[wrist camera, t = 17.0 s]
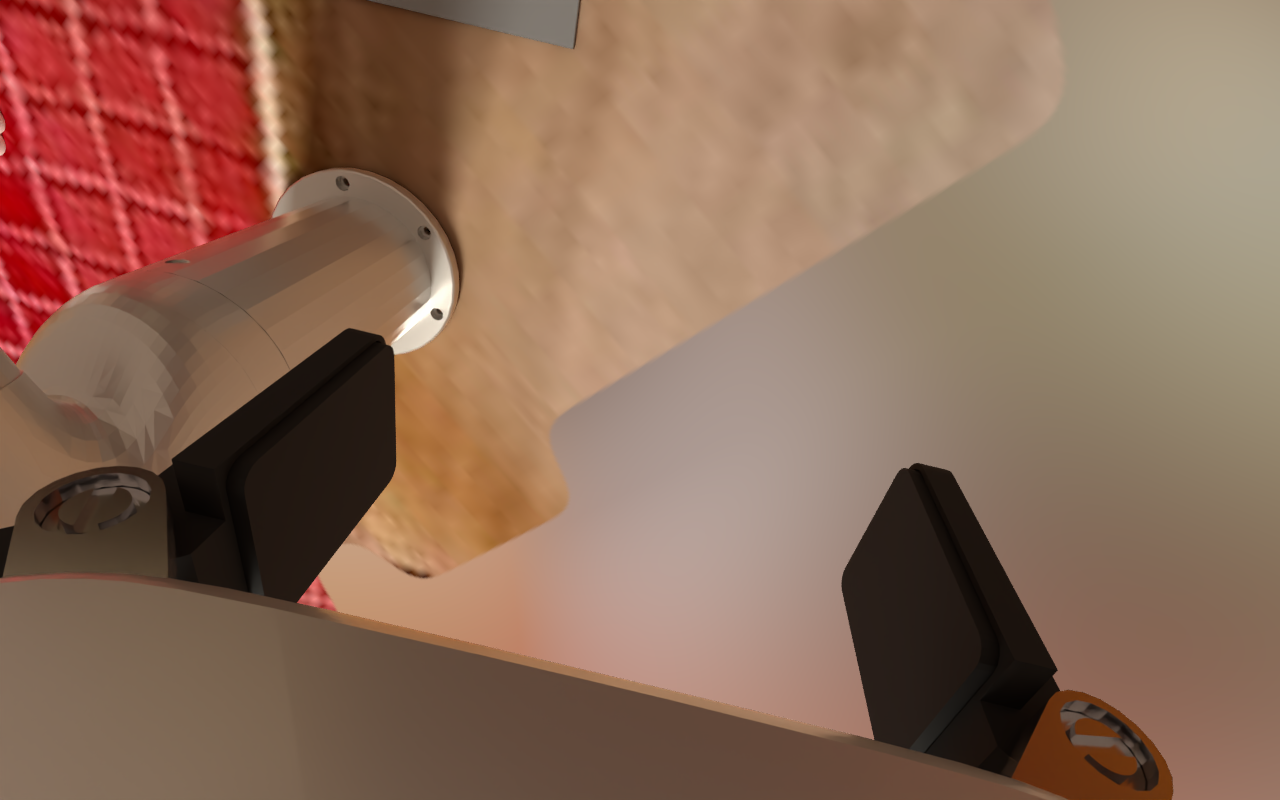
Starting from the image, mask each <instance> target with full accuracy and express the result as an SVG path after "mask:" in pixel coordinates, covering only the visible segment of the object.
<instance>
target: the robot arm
mask: <svg viewBox="0 0 1280 800" xmlns="http://www.w3.org/2000/svg"><path fill="white" fill-rule="evenodd" d="M347 180H348V181H347ZM348 182H349V183H348ZM427 228H428V229H429V230H430V232H431V233H430V232H428V231H427ZM458 294H459V272H458V267H457V263H456V258H455V254H454V252H453V249H452V247H451V245H450V242H449V240H448V237H447V235H446V234H445V232H444V231H443V229H442V227H441V226H440V224H439V222H438V221H437V219H436V218H435V217H434V216H433V215H432V213H431V212H430V211H429V210H428V209H427V208H426V206H425V205H424V204H423V203H422V202H421V201H419V200H418V199H417V198H416V197H415V196H414V195H413V194H411V193H410V192H409V191H408V190H407V189H405V188H403V187H402V186H400V185H398V184H397V183H395V182H394V181H392V180H390V179H388V178H386V177H383V176H381V175H378V174H376V173H373V172H371V171H366V170H361V169H356V168H331V169H326V170H322V171H318V172H315V173H313V174H310V175H307V176H304V177H302V178H301V179H299V180H298V181H296V182H295V183H294V184H292V185H291V186H289V188H288V189H287V190H286V191H285V192H284V194H283V195H282V196H281V197H280V199H279V201H278V203H277V205H276V207H275V209H274V211H273V214H272V219H269V220H267V221H264V222H261V223H259V224H256V225H254V226H251V227H248V228H246V229H243V230H240V231H238V232H235V233H232V234H230V235H227V236H224V237H222V238H219V239H217V240H214V241H211V242H209V243H206V244H203V245H201V246H198V247H195V248H193V249H190V250H187V251H185V252H182V253H180V254H177V255H174V256H172V257H169V258H166V259H164V260H161V261H158V262H156V263H153V264H150V265H148V266H145V267H143V268H140V269H137V270H135V271H132V272H129V273H127V274H124V275H121V276H119V277H116V278H113V279H111V280H108V281H106V282H103V283H100V284H98V285H95V286H93V287H91V288H89V289H87V290H85V291H83V292H82V293H80V294H78V295H76V296H75V297H74V298H72V299H71V300H69V301H68V302H67V303H65V304H64V305H62V306H61V307H60V308H59V309H58V310H57V311H56V312H55V313H54V314H53V315H52V316H51V317H50V318H49V319H48V320H47V321H46V322H45V323H44V324H43V325H42V326H41V327H40V328H39V329H38V331H37V332H36V333H35V335H34V336H33V337H32V339H31V340H30V342H29V343H28V345H27V346H26V348H25V349H24V351H23V352H22V354H21V356H20V358H19V360H18V362H17V364H16V365H15V364H14V363H13V362H12V360H11V359H10V358H9V357H8V356H7V355H6V353H5V352H4V351H3V350H2V349H1V348H0V800H1172V796H1173V778H1172V775H1171V773H1170V770H1169V768H1168V765H1167V763H1166V761H1165V759H1164V758H1163V756H1162V755H1161V753H1160V752H1159V750H1158V749H1157V748H1156V746H1155V745H1154V743H1153V742H1152V741H1151V740H1150V739H1149V738H1148V737H1147V736H1146V734H1145V733H1144V732H1143V731H1142V730H1141V729H1140V728H1139V727H1138V726H1137V725H1136V724H1135V723H1134V722H1132V721H1131V720H1130V719H1129V718H1127V717H1126V716H1125V715H1124V714H1123V713H1121V712H1120V711H1119V710H1117V709H1115V708H1114V707H1112V706H1111V705H1109V704H1107V703H1106V702H1104V701H1102V700H1101V699H1099V698H1096V697H1094V696H1091V695H1089V694H1086V693H1084V692H1078V691H1073V690H1064V691H1060V690H1059V688H1058V686H1057V684H1056V682H1055V680H1054V678H1053V675H1054V674H1055V672H1056V671H1057V668H1056V666H1055V664H1054V662H1053V660H1052V658H1051V657H1050V655H1049V653H1048V651H1047V649H1046V647H1045V645H1044V644H1043V642H1042V640H1041V638H1040V636H1039V634H1038V632H1037V631H1036V629H1035V627H1034V625H1033V623H1032V621H1031V619H1030V617H1029V616H1028V614H1027V612H1026V610H1025V608H1024V606H1023V604H1022V603H1021V601H1020V599H1019V597H1018V595H1017V593H1016V591H1015V590H1014V588H1013V586H1012V584H1011V582H1010V580H1009V578H1008V576H1007V575H1006V573H1005V571H1004V569H1003V567H1002V565H1001V564H1000V561H999V560H998V558H997V556H996V554H995V552H994V550H993V548H992V547H991V545H990V543H989V541H988V539H987V537H986V535H985V534H984V532H983V530H982V528H981V526H980V524H979V522H978V521H977V519H976V517H975V515H974V513H973V511H972V509H971V508H970V506H969V504H968V502H967V500H966V498H965V496H964V494H963V493H962V491H961V489H960V487H959V485H958V483H957V482H956V479H955V478H954V476H953V474H952V473H951V472H950V471H948V470H945V469H941V468H937V467H932V466H928V465H924V464H920V463H916V464H913V465H912V466H911V467H910V468H909V469H906V468H903V469H901V470H900V471H899V472H898V473H897V475H896V477H895V479H894V480H893V482H892V484H891V486H890V488H889V490H888V491H887V493H886V495H885V497H884V499H883V501H882V503H881V504H880V506H879V508H878V510H877V511H876V513H875V515H874V517H873V519H872V521H871V522H870V524H869V526H868V528H867V530H866V532H865V533H864V535H863V537H862V539H861V540H860V542H859V544H858V546H857V548H856V550H855V551H854V553H853V555H852V557H851V559H850V561H849V562H848V564H847V566H846V568H845V570H844V572H843V576H842V593H843V597H844V602H845V606H846V611H847V615H848V620H849V625H850V629H851V634H852V639H853V643H854V648H855V652H856V656H857V661H858V666H859V671H860V675H861V680H862V684H863V689H864V694H865V698H866V703H867V707H868V712H869V717H870V721H871V726H872V730H873V735H874V740H872V739H868V738H864V737H860V736H856V735H852V734H848V733H844V732H840V731H836V730H831V729H827V728H824V727H820V726H815V725H811V724H807V723H803V722H799V721H795V720H791V719H787V718H782V717H779V716H774V715H770V714H766V713H762V712H758V711H754V710H750V709H746V708H741V707H738V706H734V705H729V704H725V703H721V702H717V701H713V700H709V699H705V698H701V697H696V696H692V695H688V694H684V693H680V692H676V691H671V690H667V689H663V688H659V687H655V686H651V685H646V684H642V683H638V682H634V681H630V680H625V679H621V678H617V677H613V676H609V675H605V674H600V673H596V672H592V671H587V670H584V669H579V668H575V667H571V666H567V665H562V664H558V663H554V662H550V661H546V660H541V659H537V658H533V657H529V656H525V655H520V654H516V653H512V652H507V651H503V650H499V649H495V648H491V647H486V646H482V645H478V644H473V643H469V642H465V641H460V640H456V639H452V638H447V637H443V636H439V635H435V634H430V633H426V632H422V631H418V630H413V629H409V628H404V627H400V626H396V625H392V624H387V623H383V622H379V621H374V620H370V619H365V618H361V617H357V616H353V615H348V614H344V613H340V612H336V611H331V610H327V609H322V608H317V607H313V606H308V605H303V604H299V603H297V602H298V600H299V599H300V598H301V596H302V595H303V594H304V593H305V591H306V590H307V589H308V587H309V586H310V585H311V583H312V582H313V581H314V580H315V578H316V577H317V576H318V574H319V573H320V572H321V570H322V569H323V568H324V567H325V565H326V564H327V563H328V561H329V560H330V559H331V557H332V556H333V555H334V553H335V552H336V551H337V550H338V548H339V547H340V546H341V544H342V543H343V542H344V541H345V539H346V538H347V537H348V535H349V534H350V533H351V531H352V530H353V529H354V528H355V526H356V525H357V524H358V522H359V521H360V520H361V518H362V517H363V516H364V515H365V513H366V512H367V511H368V509H369V508H370V507H371V506H372V504H373V503H374V502H375V500H376V499H377V498H378V496H379V495H380V494H381V493H382V491H383V490H384V489H385V487H386V486H387V485H388V483H389V482H390V480H391V479H392V477H393V474H394V471H395V467H396V427H395V372H394V355H398V354H404V353H409V352H412V351H414V350H417V349H419V348H422V347H423V346H425V345H426V344H428V343H429V342H431V341H432V340H433V339H434V338H435V337H436V336H437V335H438V334H439V333H441V332H442V331H443V329H444V328H445V326H446V325H447V324H448V322H449V321H450V319H451V318H452V315H453V313H454V310H455V308H456V305H457V300H458ZM440 310H441V311H442V312H441V311H440Z"/></svg>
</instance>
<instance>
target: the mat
mask: <svg viewBox="0 0 1280 800" xmlns="http://www.w3.org/2000/svg"><path fill="white" fill-rule="evenodd" d="M369 1H373V2H377V3H381V4H385V5H390V6H394V7H398V8H402V9H406V10H411V11H415V12H419V13H423V14H427V15H432V16H436V17H440V18H444V19H448V20H453V21H457V22H461V23H465V24H469V25H474V26H478V27H482V28H486V29H491V30H495V31H499V32H503V33H507V34H512V35H516V36H520V37H524V38H528V39H533V40H537V41H541V42H545V43H549V44H554V45H558V46H562V47H566V48H570V49H574V46H575V37H576V29H577V21H578V13H579V5H580V0H369Z"/></svg>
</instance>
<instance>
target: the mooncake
mask: <svg viewBox="0 0 1280 800" xmlns="http://www.w3.org/2000/svg"><path fill="white" fill-rule="evenodd" d="M4 130H5V120H4V118H3V116H2V114H1V113H0V155H2V154H4V153H5V150H6V144H5V141H4V139H3V137H2V136H1V133H2V132H4Z"/></svg>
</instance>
